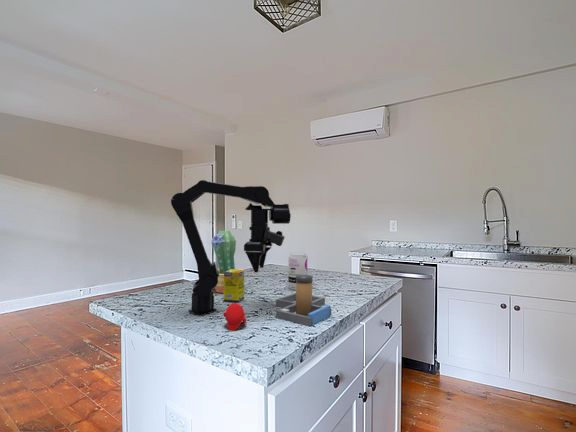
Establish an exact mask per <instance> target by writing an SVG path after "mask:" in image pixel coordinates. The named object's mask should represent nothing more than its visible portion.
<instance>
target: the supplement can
mask: <svg viewBox="0 0 576 432" xmlns="http://www.w3.org/2000/svg"><path fill="white" fill-rule="evenodd" d="M287 260H288V262H287V263H288V265H287V266H288V268H287V269H288V271H287V272H288V275H287V277H288V278H287V279H288V280H287V281H288V284H287V285H288V286H287V287H288V288H289V289H290V291H292V290H293V291H296V275H308V256H307V253H305V252H292V253H291V252H290V253H289V255H288V259H287Z"/></svg>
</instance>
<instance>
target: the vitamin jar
mask: <svg viewBox="0 0 576 432" xmlns="http://www.w3.org/2000/svg"><path fill="white" fill-rule="evenodd" d="M295 293H296V300H295V302H296V312H295V314H300V315H304V316H308V313H311V312H312V295H313V275H311V274H307V275H296V290H295Z"/></svg>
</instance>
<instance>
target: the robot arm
mask: <svg viewBox="0 0 576 432" xmlns="http://www.w3.org/2000/svg"><path fill="white" fill-rule="evenodd" d="M205 194H211V195H212V194H213V195H219V196H226V197H232V198H239V199H242V200H245V201H247V202H250V203H249V204H248V205H247V207H245V208H244V210H245V211H250V226H249V227H248V228H249V229H248V230H249V231H250V238H249V239H248V240H249V241H246V242H245V244H243V251H244V253H245V254H246V256H247V258H248V261H249V262H250V265H251V267H252V271H253V272H254V273H259V269H260V268H261V269H262V268H264V266H265V262H266V259H267V258H266V257H267V253H268V252H269V251H270V250H271V249H272V247H273V244H274V245H276V246H278V247H281V246H283V242H284V240H285V238H286V237H285V235H283V231H280V230H277V231H275V232H274V231H271V228H270V227H269V221H270V222H272V224H274V225H275V224H277V225H278V224H280V225H281V224H282V225H285V224H288V225H289V224H290V223H291V217H292V215H291V211H290V205H289V203H283V204H275V202H274V201H273V200H272V198H271V197H270V193H269V190H268V189H267V188H266V187H265V186H264V185H257V186H256V185H251V186H250V185H249V186H248V185H247V186H240V185H235V184H226V183H220V182H215V181H208V180H205V179H201V180H199V181H198V182H197V183H196V184H194V185H193V186H191V187H189V188H188V189H186V190H185V191H183V192H177V193H175V194H174V195H173V196H172V197H171V199H170V204H171V207H172V209H173V210H174V211H175V214H176V215H177V216H178V218H179V221H180V222H181V223H182V225H183V228H184V232H185V233H186V238H187V239H188V242H189V245H190V248H191V250H192V253H193V257H194V258H195V263H196V267H197V275H198V280H196V282H195V283H193V284H194V285H193V286H192V292H193V293H191V309H188V313H191V314H194V315H198V316H204V315H207V314H209V313H213V312H217V309H216V308H215V296H214V290H213V289H216V288H215V287H216V285H217V283H218V277H219V272H218V270H217V269H218V268H217V265H216V261H213V262H211V261H210V259H209V256H208V254H207V251H206V249H205V246H204V243H203V240H202V238H201V234H200V232H199V229H198V227H197V226H198V225H197V224H196V221H195V217H194V216H195V215H194V214H195V213H194V209H193V203H194V202H195V201H197V200H198V199H199V198H201V197H202V196H203V195H205ZM252 203H253V204H252ZM255 204H256V205H255ZM262 206H263V207H264V208H263V207H262ZM267 207H268V208H267Z"/></svg>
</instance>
